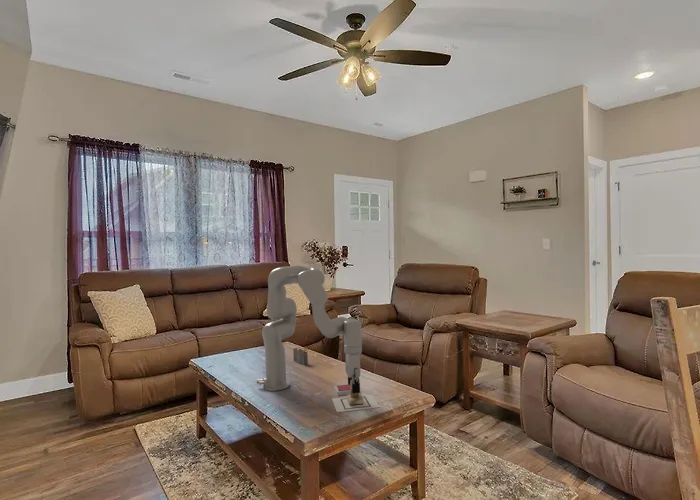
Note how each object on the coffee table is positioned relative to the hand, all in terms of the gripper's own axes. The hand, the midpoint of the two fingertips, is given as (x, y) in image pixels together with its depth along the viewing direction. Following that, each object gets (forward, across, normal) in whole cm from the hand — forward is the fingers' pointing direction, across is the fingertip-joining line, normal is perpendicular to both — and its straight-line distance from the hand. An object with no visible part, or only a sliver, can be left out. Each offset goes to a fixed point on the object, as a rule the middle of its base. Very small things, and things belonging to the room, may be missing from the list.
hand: (353, 388), depth 172 cm
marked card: (+6, 0, 0) cm, 6 cm away
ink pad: (+7, -15, -1) cm, 16 cm away
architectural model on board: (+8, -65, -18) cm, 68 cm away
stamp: (+6, 0, 0) cm, 6 cm away
